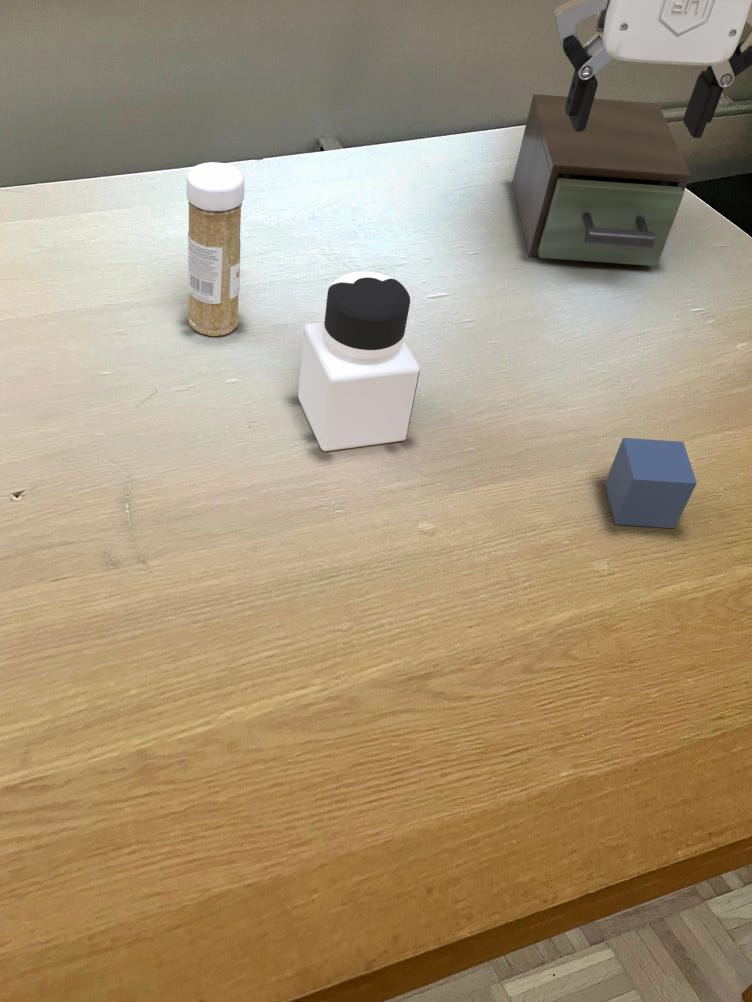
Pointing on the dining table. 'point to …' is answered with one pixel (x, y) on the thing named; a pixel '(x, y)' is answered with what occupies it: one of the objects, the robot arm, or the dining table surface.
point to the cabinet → (590, 153)
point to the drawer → (609, 219)
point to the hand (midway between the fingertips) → (633, 127)
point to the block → (649, 483)
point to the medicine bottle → (359, 364)
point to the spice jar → (214, 246)
